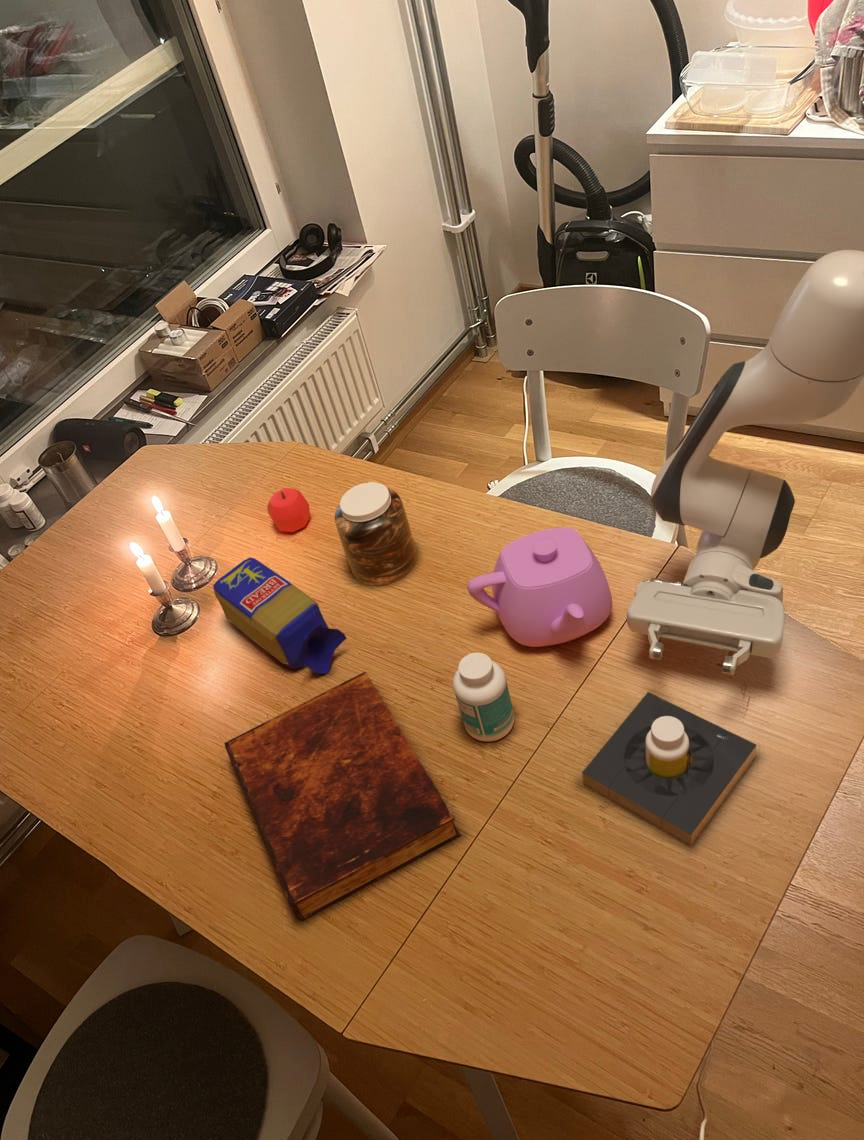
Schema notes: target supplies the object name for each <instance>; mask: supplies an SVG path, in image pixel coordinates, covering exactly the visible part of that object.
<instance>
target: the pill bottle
mask: <svg viewBox="0 0 864 1140" xmlns="http://www.w3.org/2000/svg"><path fill="white" fill-rule="evenodd" d="M457 668H458V669H457V670H456V672H455V673H454V675H453V679H452V687H453V692H454V694H455V696H454V697H455V699H456V702H457V705H458V708H459V712H460V716H461V719H462V722H463V726H464V728H465V730H466V732H467V734H468V735H469V736H470V737H471V738H473V739H475V740H477V741H480V742H494V741H495V742H496V741H498V740H500V739H502V738H504V737H506V736H507V735H508V734H509V733H510V731H511V730H512V729H513V726H514V724H515V712H514V708H513V704H512V699H511V693H510V691H509V686H508V681H507V676H506V674H505V670H504V669H503V668H502V667H501V665H499V664H498V663H497V662H495V661H493V660H492V659H491V657H490V656H489V655H487V654H486V653H482V652H471V653H469V654H467V655H465V656H464V657H462V658H461V659H460V661H459V662H458V666H457Z"/></svg>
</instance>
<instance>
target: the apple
mask: <svg viewBox="0 0 864 1140" xmlns="http://www.w3.org/2000/svg"><path fill="white" fill-rule="evenodd" d="M266 508H267V514H268V516H269V517H270V519H271V520H272V522H273V523H274V525H275V526H276V527H277V528H278V530H279V532H283V533H284V532H285V533H286V532H287V533H295V532H297V531H298V530H301V529H303V528H305V527H306V525H308V524H307V523H308V522H309V520H310V518H311V510H310V509H311V508H310V504H309V502H308V501H307V500H306V498H305V496H304V495H303V494H302V492H301V491H300V489H299V490H298V489H297V488H295V487H294V488H293V487H290V488H289V487H282V488H281V489H279V490H277V491H275V492H273V494H272V495H271V496H270V499H269V501H268V503H267V506H266Z"/></svg>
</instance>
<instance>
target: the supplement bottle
mask: <svg viewBox="0 0 864 1140" xmlns="http://www.w3.org/2000/svg"><path fill="white" fill-rule="evenodd" d="M688 759H689V739H688V736H687V734H686V733H685V731H684V726H683V724H682V722H681V721H680V720H678V719H677V718H675V717H671V716H663V717H660V718H658V719H656V720H655V721H654V722H653V724H652V726H651V730H650V731H649V732H648V734H647V736H646V767H647V768H648V769H649V770H650V772H651V773H653V774H655V775H657V776H658V777H660V778H666V779H672V778H678V777H681V776H682V775H684V774H686V773H687V772H688V771H689V762H688Z"/></svg>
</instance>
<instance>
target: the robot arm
mask: <svg viewBox="0 0 864 1140" xmlns="http://www.w3.org/2000/svg"><path fill="white" fill-rule="evenodd" d="M863 379H864V251H863V250H858V249H841V250H836V251H833V252H829V253H827V254H825V255H823V256H821V257H819V258H818V259H817V260H815V261H814V263H812V264H811V265H810V266H809V268H808V269H807V270H806V271H805V273H804V274H803V276H802V277H801V279H800V280H799V282H798V283H797V285H796V286H795V288H794V290H792V293H791V294H790V297H789V298H788V300H787V302H786V303H785V305H784V307H783V309H782V311H781V313H780V315H779V317H778V319H777V322H776V323H775V326H774V328H773V331H772V332H771V335H770V338H769V340H768V341H767V344H766V345H765V346H764V347H763V348H762V349H761V350H760V351H759V352H758V353H757V354H755V355H754V356H752V357H751V358H749V359H748V360H746V361H745V360H744V361H740V362H736V363H735V362H734V363H733V364H732V365H730V367H729V368H728V369H727V370H726V371H725V372H724V373H723V374H722V375H721V376H720V378H719V380H718V381H717V383H716V384H715V385H714V386H713V389H712V390H711V392H710V393H709V394H708V396H707V397H706V399H705V401H704V402H703V404H702V406H701V407H700V409H699V411H698V412H697V414H696V415H695V417H694V419H693V420H692V422H691V424H690V426H689V427H688V428H687V430H686V432H685V433H684V435H683V437H682V438H681V440H680V442H679V443H678V445H677V446H676V447H675V449H674V450H673V452H672V453H671V455H670V456H669V457H668V458H667V459H666V460H665V461H664V462H663V463H662V465H661V467H660V468H659V470H658V472H657V473H656V475H655V477H654V480H653V482H652V486H651V490H650V503H651V505H652V507H653V509H654V510H655V512H656V513H657V514H656V515H658V516H659V518H660V519H661V521H663V522H666V523H671V524H676V525H680V526H687V527H691V528H694V529H697V530H699V531H701V533H700V535H699V537H698V540H697V544H696V547H695V555H694V556H693V557H692V559H691V561H690V562H689V565H688V568H687V571H686V573H685V576H684V578H683V581H682V582H681V581H675V580H665V579H664V580H663V579H662V578H657V577H652V578H650V579H646V580H643V581H639V583H638V584H637V586H636V588H635V591H634V596H633V598H632V600H631V602H630V604H629V605H628V608H627V611H626V625H627V627H628V629H629V630H630V631H631V632H632V633H636V634H641V635H647V639H648V642H649V645H650V647H649V650H648V657H649V659H653V660H659V661H661V660H662V656H663V655H664V652H665V651H664V650H665V649H664V645H665V644H664V643H663V642H660V638H661V639H667V640H674V641H678V642H684V643H689V644H693V645H700V646H704V647H709V648H715V649H721V650H725V651H730V652H736V653H734V654H733V655H728V654H727V655H725V656H724V661H723V662H722V668H721V669H722V670H721V673H722V674H727V675H732V676H734V675H735V672H736V669H737V667H739V666H740V665H741V664H743V663H744V662H746V661H748V660H749V658H750V655H752V656H757V657H762V658H768V659H773V658H775V657H777V656H778V655H780V653H781V651H782V650H781V649H782V645H783V640H784V639H783V638H784V631H785V619H786V618H785V617H786V611H785V606H784V604H783V600H784V588H783V587H784V586H783V583H781V581H778V580H776V579H775V578H771V577H769V576H766V575H763V574H762V573H760V572H756V571H755V569H756V567H757V566H758V565H759V563H760V560H761V559H763V558H765V557H767V556H769V555H770V554H772V553H773V552H775V551H776V550H778V548H779V547H780V545H781V544H782V542H783V541H784V538H785V537H786V533H787V532H788V531H787V530H788V526H789V523H790V520H791V514H792V512H793V510H794V506H795V503H796V499H795V496H794V493H793V491H792V488H791V486H790V485H789V483H788V482H787V480H786V479H783V478H781V477H779V476H775V475H772V474H769V473H765V472H762V471H758V470H755V469H751V468H747V467H743V466H739V465H736V464H733V463H730V462H726V461H723V460H719V459H717V458H714V457H712V456H710V454H711V453H712V452H713V450H714V449H715V447H716V446H717V444H718V442H720V439H721V438H722V437H723V435H724V434H725V433H726V432H727V431H729V430H731V429H733V428H736V427H740V426H749V425H761V424H772V425H773V424H775V425H777V424H778V425H799V424H806V423H812V422H813V421H818V420H820V419H823V418H826V417H828V416H830V415H832V414H833V413H835V412H837V411H838V410H840V409H841V408H842V407H843V406H844V405H845V404H847V402H848V401H849V400H850V399H851V397H852V396H853V394H854V393H855V391H856V390H857V389H858V387H859V385H860V384H861V382H862V380H863Z"/></svg>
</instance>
